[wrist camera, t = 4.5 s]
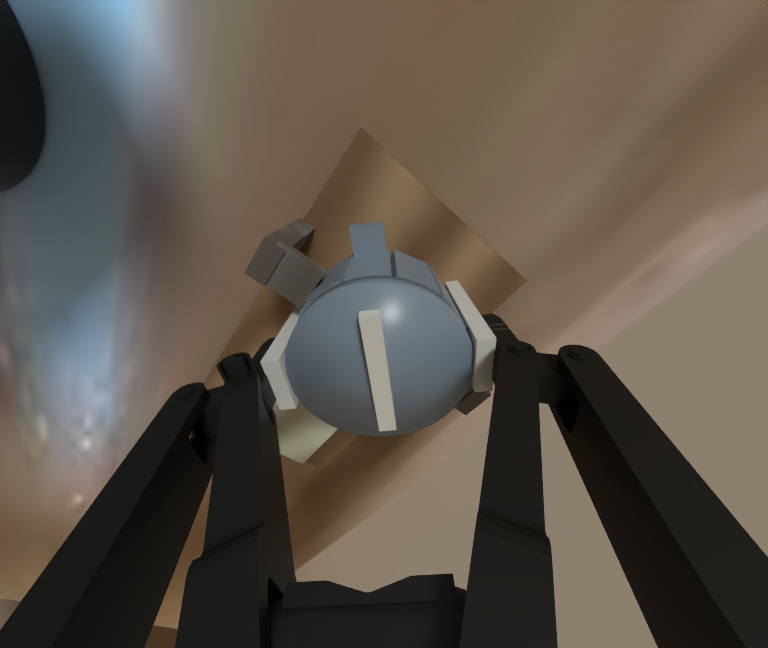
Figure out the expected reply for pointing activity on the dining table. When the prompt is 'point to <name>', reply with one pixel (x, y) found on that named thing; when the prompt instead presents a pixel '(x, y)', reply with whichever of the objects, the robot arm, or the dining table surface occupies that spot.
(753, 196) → the dining table surface
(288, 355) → the cap
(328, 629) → the robot arm
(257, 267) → the base
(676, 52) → the dining table surface
